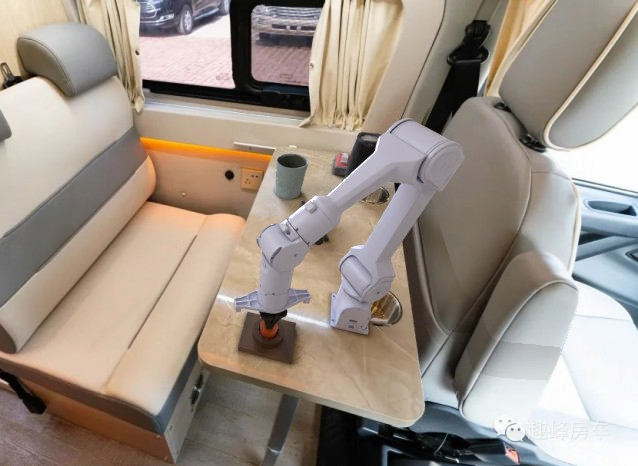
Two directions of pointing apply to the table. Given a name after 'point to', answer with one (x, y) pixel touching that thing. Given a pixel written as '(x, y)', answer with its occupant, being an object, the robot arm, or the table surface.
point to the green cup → (290, 175)
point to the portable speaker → (362, 150)
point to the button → (268, 330)
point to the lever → (320, 241)
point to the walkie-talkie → (341, 164)
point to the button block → (267, 339)
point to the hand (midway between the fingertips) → (268, 324)
